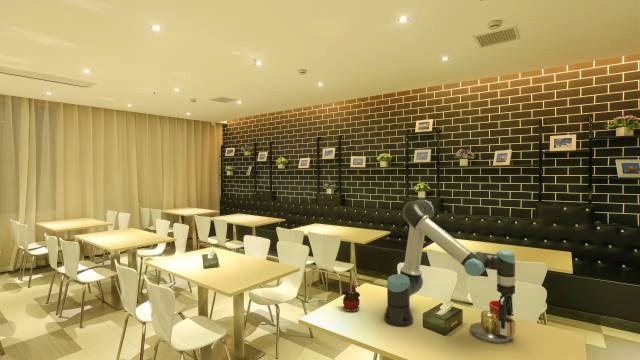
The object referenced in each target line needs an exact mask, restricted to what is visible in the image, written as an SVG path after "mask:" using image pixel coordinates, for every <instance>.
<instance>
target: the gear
mask: <svg viewBox="0 0 640 360" xmlns="http://www.w3.org/2000/svg"><path fill="white" fill-rule="evenodd" d="M498 319H499V318H497V331H498V332H499V333H500V321H499V320H498ZM506 321H507V336H508V335H509V336H511V337H513V336H514V335H516V321H515V320H513V318H512V319H511V318H506Z"/></svg>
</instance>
